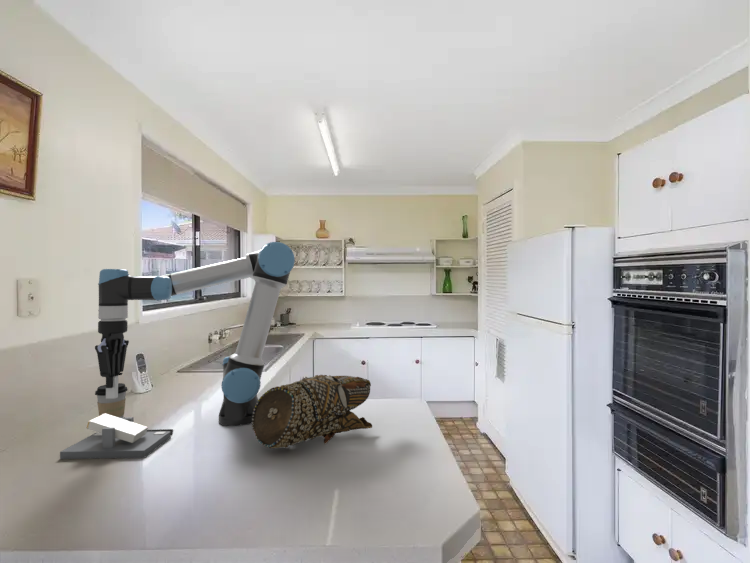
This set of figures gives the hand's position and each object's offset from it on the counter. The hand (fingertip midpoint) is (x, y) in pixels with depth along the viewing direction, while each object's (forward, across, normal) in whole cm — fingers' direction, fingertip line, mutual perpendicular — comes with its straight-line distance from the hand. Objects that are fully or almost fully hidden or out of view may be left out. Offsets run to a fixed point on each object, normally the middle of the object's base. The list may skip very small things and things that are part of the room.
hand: (111, 397), depth 123 cm
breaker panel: (+15, 0, +2) cm, 15 cm away
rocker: (+10, 0, +1) cm, 10 cm away
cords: (+15, -10, +5) cm, 19 cm away
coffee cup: (+16, -16, -10) cm, 24 cm away
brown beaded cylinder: (+14, -4, +62) cm, 64 cm away
